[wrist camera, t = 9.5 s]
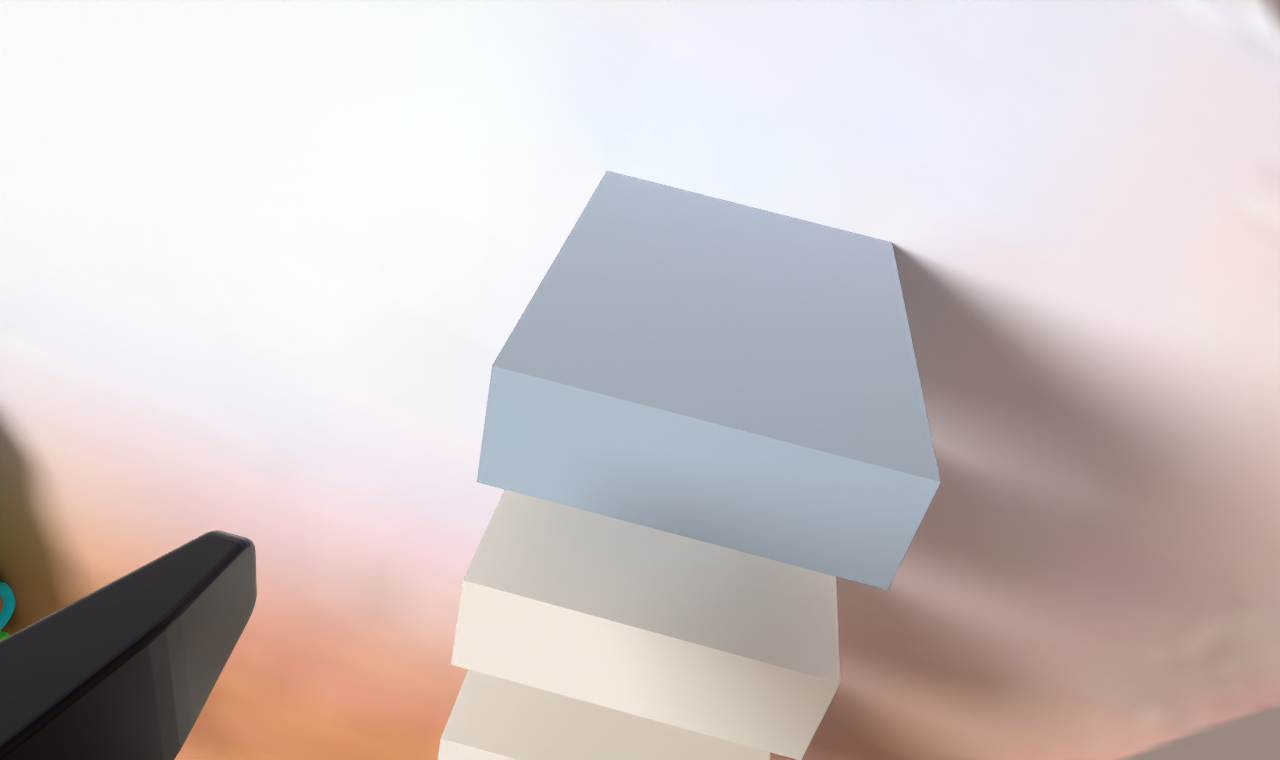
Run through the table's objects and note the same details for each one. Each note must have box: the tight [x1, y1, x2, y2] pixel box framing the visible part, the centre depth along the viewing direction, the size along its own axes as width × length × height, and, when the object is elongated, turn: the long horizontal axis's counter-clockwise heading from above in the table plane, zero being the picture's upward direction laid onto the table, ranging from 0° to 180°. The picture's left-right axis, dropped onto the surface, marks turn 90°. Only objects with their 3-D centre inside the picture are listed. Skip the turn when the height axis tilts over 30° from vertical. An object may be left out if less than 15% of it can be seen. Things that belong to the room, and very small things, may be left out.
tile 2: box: [438, 669, 770, 760], centre depth 20 cm, size 2×6×8 cm, turn 78°
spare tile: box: [477, 171, 941, 590], centre depth 16 cm, size 2×6×8 cm, turn 78°
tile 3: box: [451, 490, 840, 760], centre depth 18 cm, size 2×6×8 cm, turn 78°
